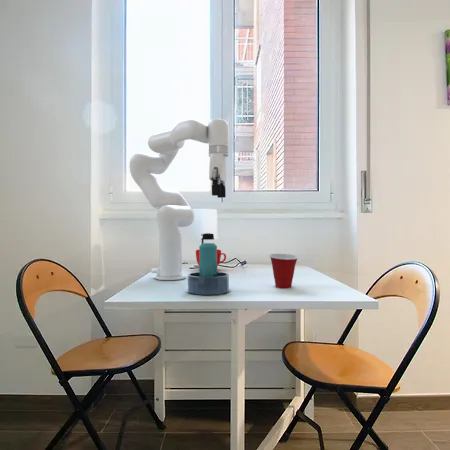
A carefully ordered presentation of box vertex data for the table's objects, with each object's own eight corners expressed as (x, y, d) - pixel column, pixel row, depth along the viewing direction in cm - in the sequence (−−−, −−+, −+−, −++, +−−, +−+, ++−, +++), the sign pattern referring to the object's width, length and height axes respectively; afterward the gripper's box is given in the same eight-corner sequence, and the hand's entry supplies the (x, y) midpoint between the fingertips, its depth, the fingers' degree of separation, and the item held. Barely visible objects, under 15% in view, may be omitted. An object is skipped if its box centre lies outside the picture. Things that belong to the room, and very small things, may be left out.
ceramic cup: (218, 272, 168) (218, 251, 168) (190, 270, 177) (190, 250, 177) (232, 269, 179) (232, 250, 179) (205, 267, 188) (205, 248, 188)
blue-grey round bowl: (186, 295, 115) (186, 277, 115) (189, 287, 130) (189, 271, 130) (229, 295, 116) (229, 277, 116) (227, 287, 130) (227, 271, 130)
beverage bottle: (215, 292, 119) (215, 233, 119) (196, 292, 120) (196, 233, 120) (219, 289, 125) (219, 233, 125) (201, 288, 127) (201, 233, 126)
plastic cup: (280, 290, 124) (280, 256, 124) (263, 285, 134) (263, 254, 134) (304, 288, 129) (304, 255, 129) (286, 283, 139) (286, 253, 139)
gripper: (214, 157, 145) (214, 198, 145) (203, 148, 128) (203, 194, 128) (231, 156, 144) (232, 197, 144) (223, 146, 127) (224, 194, 127)
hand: (218, 196), depth 136 cm, fingers open, 9 cm apart
